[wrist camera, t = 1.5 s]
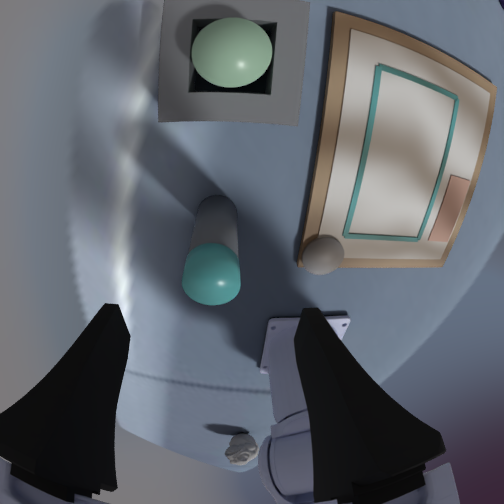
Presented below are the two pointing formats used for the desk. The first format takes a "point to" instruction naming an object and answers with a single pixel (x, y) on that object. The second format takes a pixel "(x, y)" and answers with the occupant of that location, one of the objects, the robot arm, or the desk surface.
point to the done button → (231, 52)
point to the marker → (213, 254)
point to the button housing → (232, 102)
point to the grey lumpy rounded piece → (242, 449)
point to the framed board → (393, 151)
